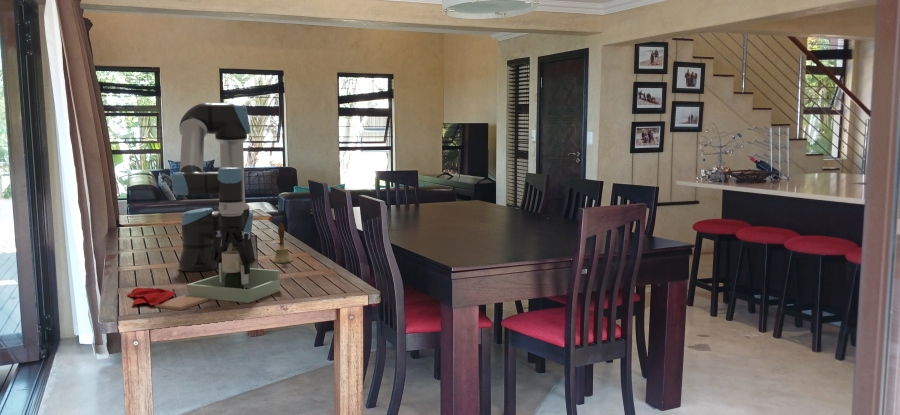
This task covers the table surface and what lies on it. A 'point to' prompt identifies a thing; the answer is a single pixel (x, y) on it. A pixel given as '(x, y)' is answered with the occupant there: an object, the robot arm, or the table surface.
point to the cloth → (150, 295)
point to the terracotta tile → (181, 302)
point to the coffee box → (254, 244)
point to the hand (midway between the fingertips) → (234, 282)
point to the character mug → (232, 269)
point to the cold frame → (258, 287)
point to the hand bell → (281, 248)
